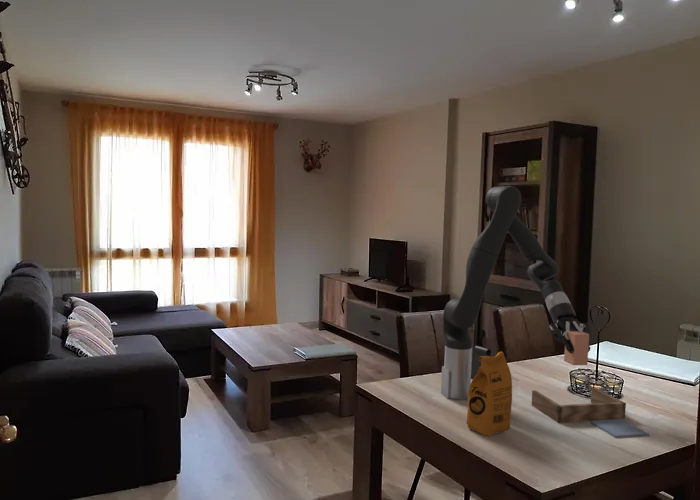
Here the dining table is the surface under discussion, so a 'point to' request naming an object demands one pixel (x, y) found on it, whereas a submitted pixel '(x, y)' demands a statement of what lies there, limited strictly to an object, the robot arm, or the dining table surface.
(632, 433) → the slate mat
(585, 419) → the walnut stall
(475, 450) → the dining table surface
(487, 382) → the coffee package
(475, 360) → the door stopper
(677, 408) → the dining table surface
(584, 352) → the terracotta block
